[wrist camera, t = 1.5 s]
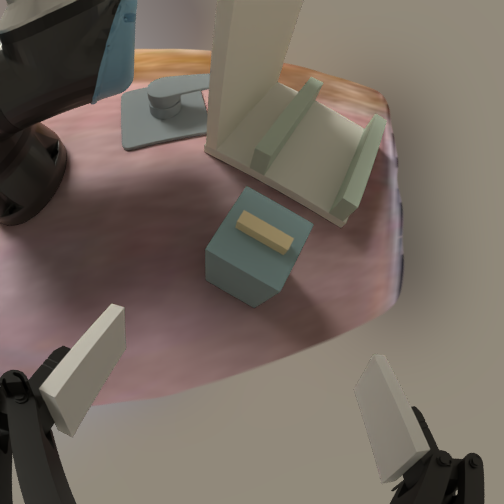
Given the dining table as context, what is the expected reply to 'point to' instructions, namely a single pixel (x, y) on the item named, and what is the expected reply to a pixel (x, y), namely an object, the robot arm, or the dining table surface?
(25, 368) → the dining table surface
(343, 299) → the dining table surface
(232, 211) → the teal block with bar
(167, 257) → the dining table surface
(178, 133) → the shower valve
